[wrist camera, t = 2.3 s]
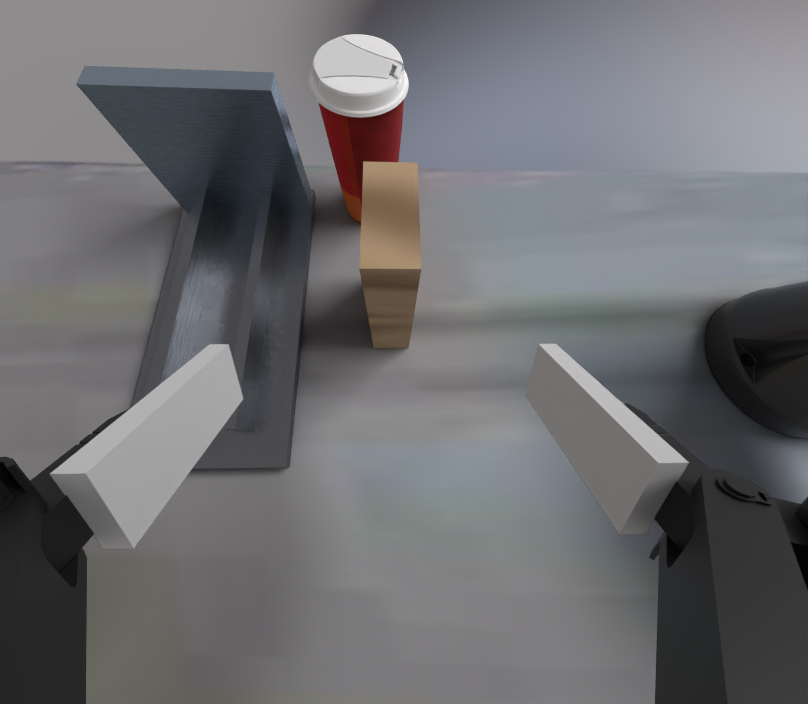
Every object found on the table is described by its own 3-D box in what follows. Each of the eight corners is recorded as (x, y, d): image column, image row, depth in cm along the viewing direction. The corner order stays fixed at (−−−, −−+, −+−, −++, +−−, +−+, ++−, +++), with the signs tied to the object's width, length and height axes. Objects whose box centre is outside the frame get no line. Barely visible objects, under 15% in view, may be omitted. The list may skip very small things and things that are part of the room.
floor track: (289, 466, 27) (201, 480, 14) (124, 469, 26) (-113, 485, 14) (315, 196, 36) (275, 64, 24) (194, 194, 36) (88, 57, 23)
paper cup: (409, 188, 37) (419, 40, 24) (394, 239, 35) (395, 107, 21) (347, 174, 37) (322, 21, 24) (328, 224, 35) (288, 84, 22)
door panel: (408, 348, 31) (421, 269, 17) (373, 348, 31) (359, 268, 17) (407, 278, 33) (417, 162, 20) (374, 278, 33) (363, 161, 20)
